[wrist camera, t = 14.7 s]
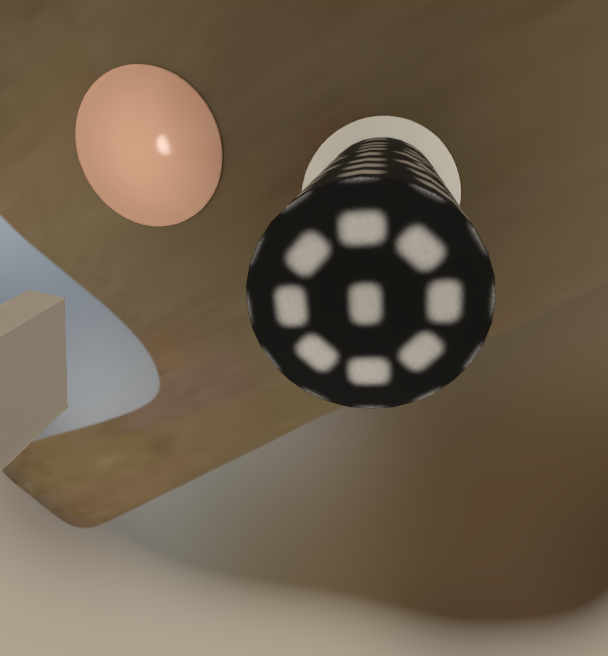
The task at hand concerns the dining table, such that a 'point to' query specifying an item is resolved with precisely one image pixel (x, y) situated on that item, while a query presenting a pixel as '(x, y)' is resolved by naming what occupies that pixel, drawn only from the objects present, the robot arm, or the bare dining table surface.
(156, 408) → the dining table surface
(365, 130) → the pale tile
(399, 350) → the spotted tube
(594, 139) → the dining table surface
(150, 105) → the pink round disc
